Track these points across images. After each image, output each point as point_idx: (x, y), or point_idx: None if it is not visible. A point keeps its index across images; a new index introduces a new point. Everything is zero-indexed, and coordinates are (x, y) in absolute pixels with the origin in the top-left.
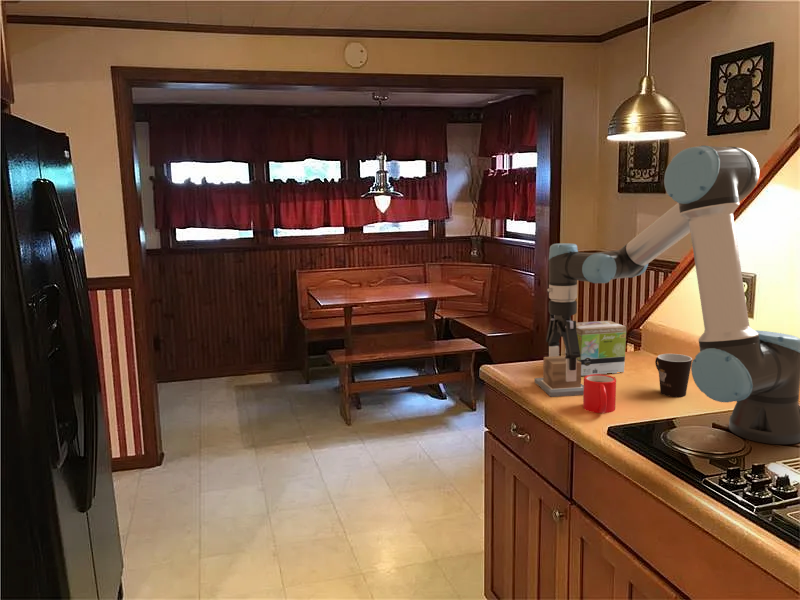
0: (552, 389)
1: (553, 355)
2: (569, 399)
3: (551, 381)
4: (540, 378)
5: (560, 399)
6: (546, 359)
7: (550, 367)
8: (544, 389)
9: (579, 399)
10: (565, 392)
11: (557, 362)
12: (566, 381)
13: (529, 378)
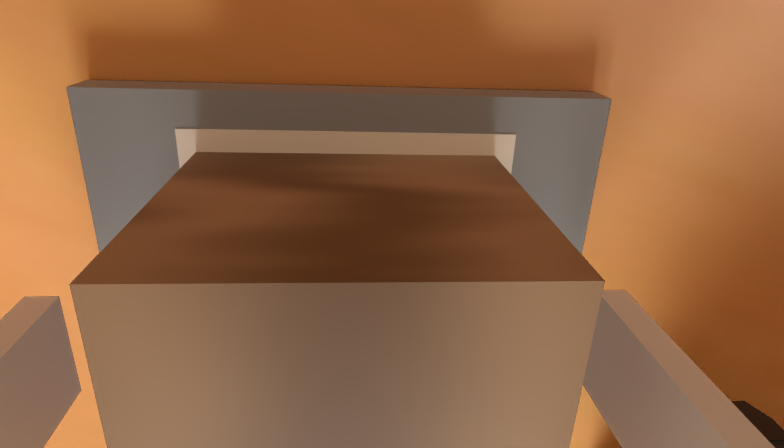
0: (176, 142)
1: (672, 442)
2: (9, 220)
3: (225, 173)
4: (579, 155)
5: (6, 143)
6: (443, 279)
7: (235, 240)
8: (281, 87)
9: (13, 296)
10: (100, 234)
11: (183, 379)
12: (34, 297)
13: (728, 86)
